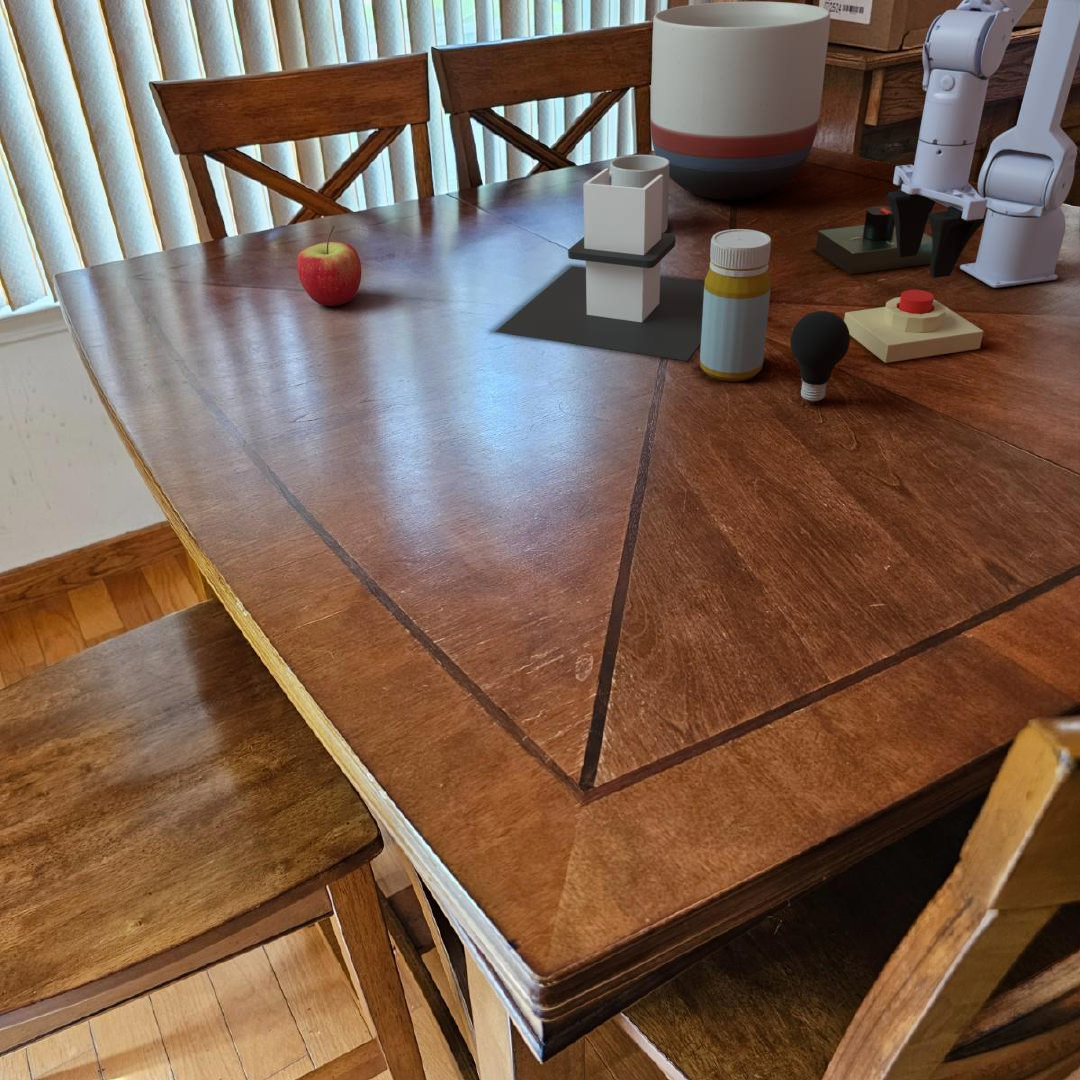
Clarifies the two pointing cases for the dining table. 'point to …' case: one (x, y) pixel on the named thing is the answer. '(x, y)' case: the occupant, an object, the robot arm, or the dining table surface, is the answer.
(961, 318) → the switch block
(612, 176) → the mug
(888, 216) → the dimmer knob
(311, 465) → the dining table surface
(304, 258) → the apple
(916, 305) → the switch button
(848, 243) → the dimmer panel
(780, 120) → the planter
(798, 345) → the light bulb
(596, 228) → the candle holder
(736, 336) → the bottle
